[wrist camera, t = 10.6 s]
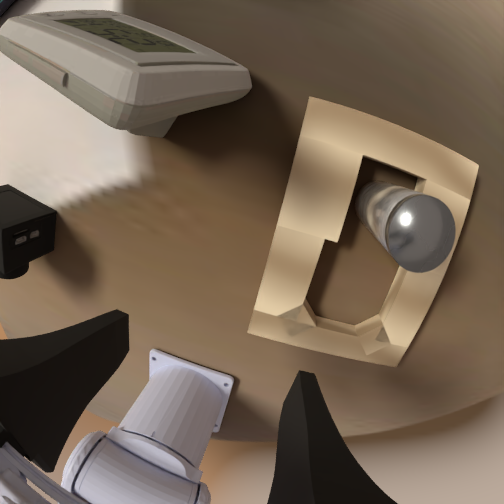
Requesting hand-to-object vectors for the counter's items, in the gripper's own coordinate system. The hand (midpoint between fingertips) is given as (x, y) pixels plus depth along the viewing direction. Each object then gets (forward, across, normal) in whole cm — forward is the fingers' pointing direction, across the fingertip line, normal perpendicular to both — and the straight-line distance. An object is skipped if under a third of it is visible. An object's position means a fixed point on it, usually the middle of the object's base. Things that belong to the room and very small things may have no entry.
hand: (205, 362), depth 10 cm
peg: (+10, -7, -7) cm, 14 cm away
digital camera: (+10, +24, +2) cm, 26 cm away
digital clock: (+10, +10, -13) cm, 20 cm away
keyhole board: (+10, -7, -4) cm, 13 cm away
